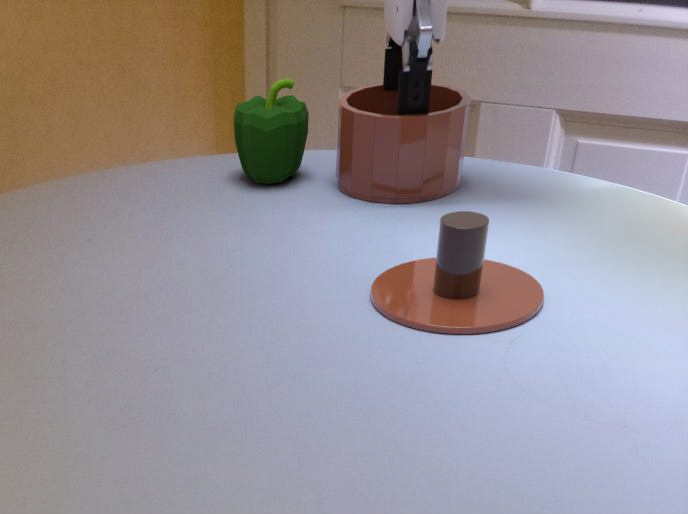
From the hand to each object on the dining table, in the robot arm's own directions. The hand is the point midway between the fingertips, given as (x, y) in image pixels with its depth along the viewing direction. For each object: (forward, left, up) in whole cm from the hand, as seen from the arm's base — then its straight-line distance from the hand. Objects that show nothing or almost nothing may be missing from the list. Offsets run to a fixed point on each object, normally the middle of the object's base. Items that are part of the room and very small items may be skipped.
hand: (404, 101), depth 104 cm
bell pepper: (+14, -4, -8) cm, 17 cm away
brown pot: (0, 0, -8) cm, 8 cm away
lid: (0, +32, -8) cm, 33 cm away
